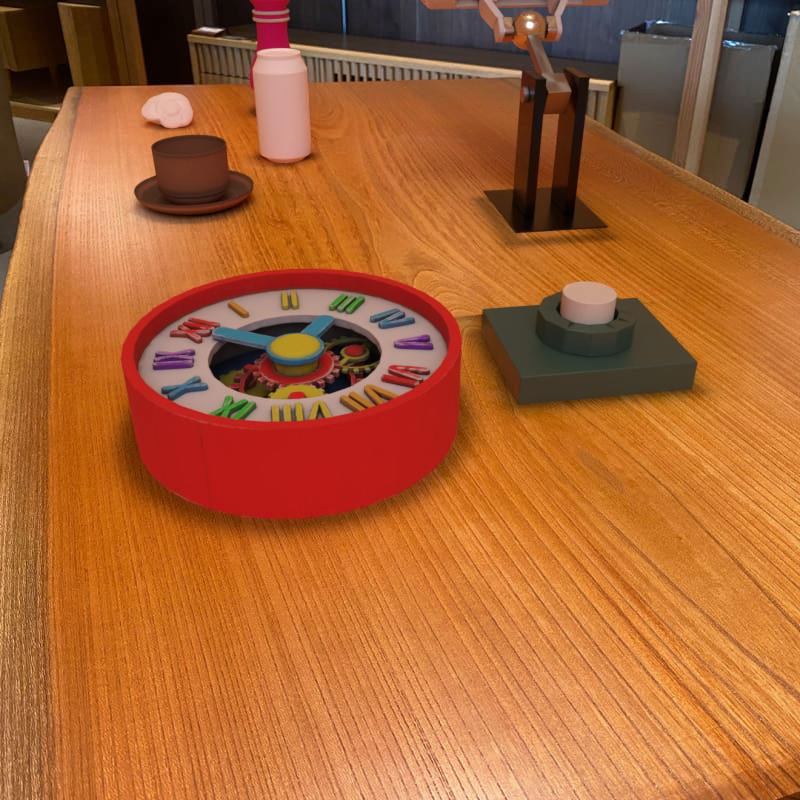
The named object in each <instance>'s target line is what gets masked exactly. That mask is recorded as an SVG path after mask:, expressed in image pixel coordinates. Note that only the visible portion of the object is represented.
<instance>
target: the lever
mask: <svg viewBox="0 0 800 800" xmlns="http://www.w3.org/2000/svg"><path fill="white" fill-rule="evenodd" d="M512 20H513V24H512V26H513V27H514V35H513V37H512V41H511V42H512V43H513V44H514V46H516V47H518V48H519V49H521V50H527V51H528V54H529V56H530V59H531V61H532V64H533V66H534V70H535V71H536V72H537V73H539V74H540V75H542V76H543V77H545V78H546V79H547V80H546V92H545V103H544V114H543V116H545V115H559V114H566V110H567V107H568V103H569V100H570V96H571V92H572V91H571V89H570V86H569V84H568V82H567V79H566V77H565V74H564V73H563V72H554V70H553V68H552V65H551V63H550V60H549V58H548V55H547V53H546V51H545V47H544V46H543V42H544V41H543V40H544V38H545V36H546V31H547V26H546V22H545V17H544V16H543V14H542V13H540V12H539V11H537V10H534V9H525V10H522V11H520V12H518V13H517V14H516V15H515V16H514V17H513V18H512Z"/></svg>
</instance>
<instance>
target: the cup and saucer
mask: <svg viewBox="0 0 800 800" xmlns="http://www.w3.org/2000/svg"><path fill="white" fill-rule="evenodd" d="M227 147H228V146H227V141H226V140H225V139H224V138H222V137H218V136H216V135H210V134H183V135H175V136H170V137H165V138H162V139H159V140H157V141H154V142H153V144H151V146H150V150H151V155H152V161H153V166H154V172H155V175H153V176H150V177H147V178H146V179H143V180H141V181H140V182H138V183H137V185H136V186H135V187H134V189H133V193H134V196H135V198H136V200H137V201H138V202H139V203H140V204H142V205H143V206H145V207H146V208H148V209H150V210H153V211H156V212H160V213H165V214H170V215H183V216H184V215H189V216H190V215H202V214H210V213H216V212H220V211H224V210H227V209H229V208H232V207H235V206H236V205H238V204H241V203H242V202H244V201H245V200H247V198H248V197H249V196H250V195H251V193H252V192H253V190H254V180H253V179H252V178H251V177H250V176H249V175H247V174H245V173H242V172H239V171H236V170H231V169H229V168H230V167H229V158H228V149H227Z"/></svg>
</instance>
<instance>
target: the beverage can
mask: <svg viewBox="0 0 800 800" xmlns="http://www.w3.org/2000/svg"><path fill="white" fill-rule="evenodd" d="M301 53H302V52H301V50H299V49H295V48H291V49H288V48H274V49H265V50H261V51H258V52H257V59H256V61H255V64H254V67H253V69H252V71H253V82H254V90H253V92H254V103H255V104H254V105H255V116H256V126H257V137H258V138H257V139H258V147H259V148H258V149H259V154H260V155H261V156H262V157H264V158H266V159H267V160H268V161H269V162H273V163H278V164H289V163H290V164H291V163H296V162H301V161H303V160H304V159H305V158H306V157H308V156H309V155H311V153H312V130H311V127H312V126H311V112H310V111H311V109H310V91H309V75H308V67H307V65H306V63H305V61H304V59H303V58H302V56H301V55H302V54H301Z"/></svg>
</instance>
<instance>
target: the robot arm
mask: <svg viewBox="0 0 800 800" xmlns="http://www.w3.org/2000/svg"><path fill="white" fill-rule="evenodd" d="M610 1H611V0H420V2H421V3H422V4H423V5H424V6H425V7H426V8H427V9H429V10H461V9H464V10H465V9H478V11H479V16H480V17H481V18H482V19H483V21H484V22H485V23H486V24H487V25H488V26H489V27H490V29H492V30H493V34H494V42H495V43H496V44H500V43H502V44H503V43H512V42H513V41H512V37H513V35H514V27H513V26H512V24H513V17H512V16H504V14H503V13H502V11H501V10H500V9H505V8H507V9H510V8H511V9H512V8H546V7H547V11H548V13H549V14H553V15H546V16H545V17H544V19H545V22H546V26H547V31H546V36H545V38H544V40H543V41H542V42H559V41H560V39H561V37H562V34H563V23H562V15H563V13H564V11H565V8H566V7H593V6H594V7H595V6H597V7H598V6H599V7H601V6H602V7H603V6H606V5H607V4H608V3H609V2H610Z"/></svg>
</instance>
